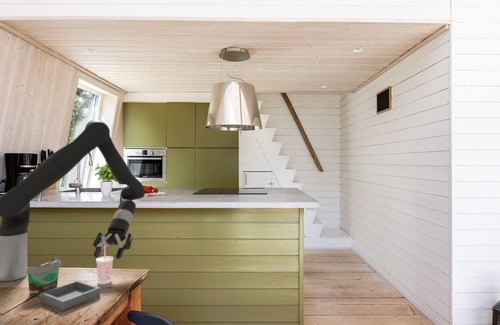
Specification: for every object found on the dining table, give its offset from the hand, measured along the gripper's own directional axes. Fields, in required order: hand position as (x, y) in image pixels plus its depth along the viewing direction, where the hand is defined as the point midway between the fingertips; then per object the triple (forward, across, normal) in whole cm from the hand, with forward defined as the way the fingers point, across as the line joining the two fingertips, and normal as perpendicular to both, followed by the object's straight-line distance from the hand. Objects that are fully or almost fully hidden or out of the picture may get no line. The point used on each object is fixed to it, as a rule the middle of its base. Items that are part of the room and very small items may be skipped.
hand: (106, 257), depth 122 cm
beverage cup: (+7, 0, +6) cm, 9 cm away
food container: (+14, -15, -2) cm, 21 cm away
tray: (+18, -3, -6) cm, 19 cm away
